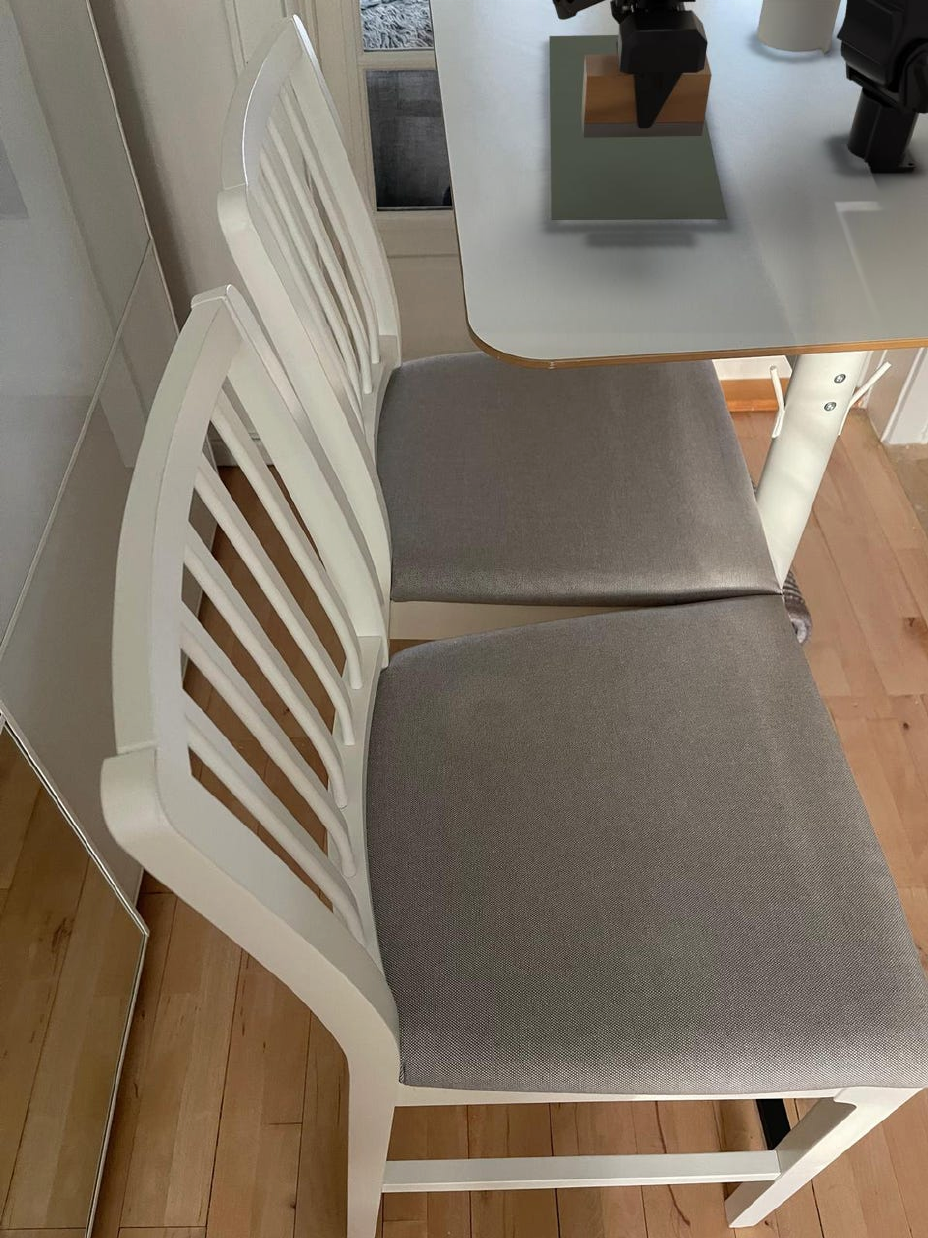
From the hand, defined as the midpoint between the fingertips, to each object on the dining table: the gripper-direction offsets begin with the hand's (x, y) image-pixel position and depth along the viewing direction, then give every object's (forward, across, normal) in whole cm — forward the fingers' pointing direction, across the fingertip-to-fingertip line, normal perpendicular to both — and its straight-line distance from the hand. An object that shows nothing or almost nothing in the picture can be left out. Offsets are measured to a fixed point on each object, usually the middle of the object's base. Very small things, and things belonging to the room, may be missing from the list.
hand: (642, 114), depth 84 cm
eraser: (+1, 0, 0) cm, 1 cm away
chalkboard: (+10, -19, +1) cm, 21 cm away
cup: (+10, -38, +21) cm, 44 cm away
